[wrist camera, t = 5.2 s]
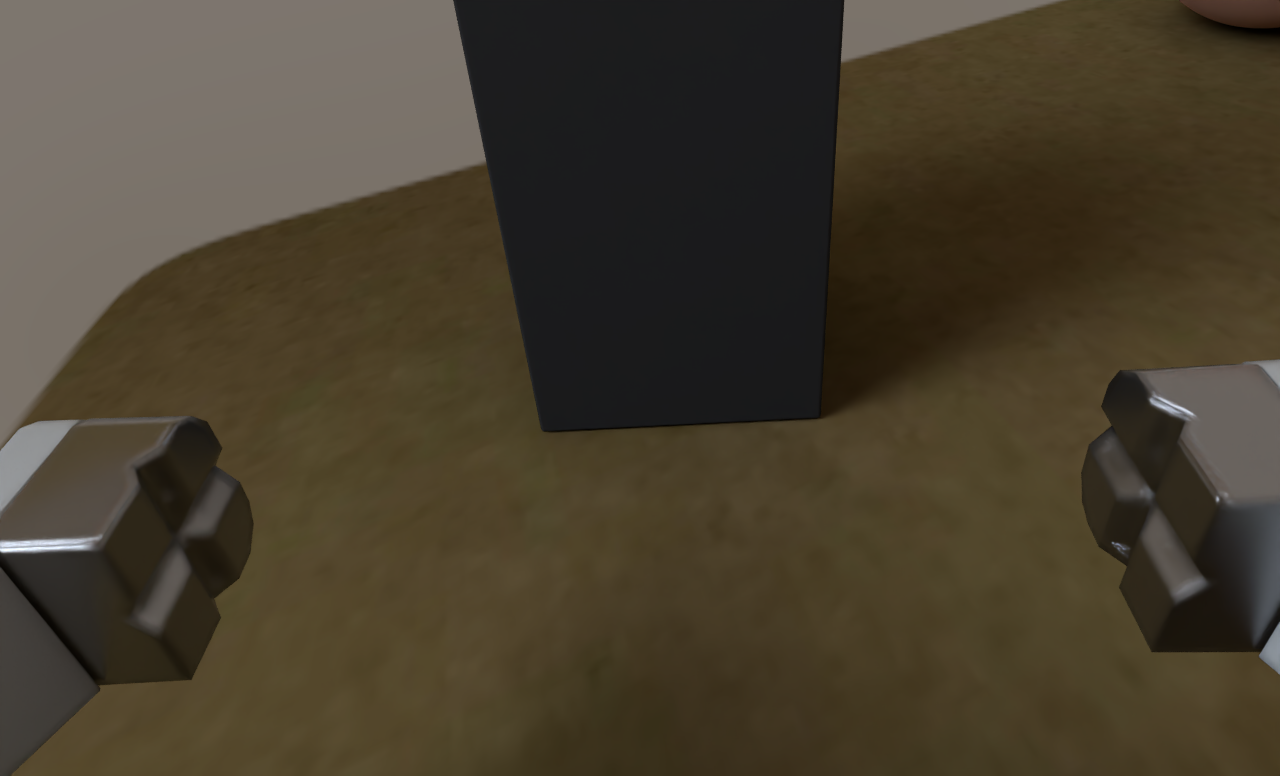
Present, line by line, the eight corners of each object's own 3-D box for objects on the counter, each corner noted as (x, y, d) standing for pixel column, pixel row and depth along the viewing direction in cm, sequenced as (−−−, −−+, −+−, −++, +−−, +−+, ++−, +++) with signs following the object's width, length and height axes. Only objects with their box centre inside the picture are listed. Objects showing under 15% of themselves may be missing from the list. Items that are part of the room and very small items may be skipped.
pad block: (541, 432, 16) (423, -139, 10) (565, 284, 20) (488, -191, 14) (821, 418, 16) (854, -180, 10) (789, 270, 20) (801, -222, 14)
